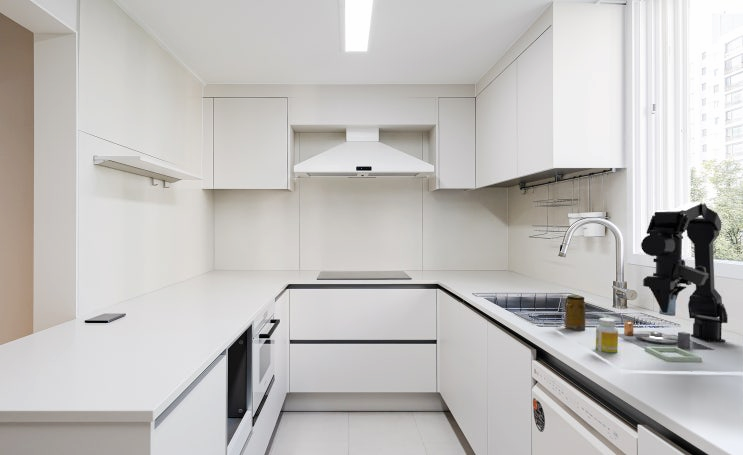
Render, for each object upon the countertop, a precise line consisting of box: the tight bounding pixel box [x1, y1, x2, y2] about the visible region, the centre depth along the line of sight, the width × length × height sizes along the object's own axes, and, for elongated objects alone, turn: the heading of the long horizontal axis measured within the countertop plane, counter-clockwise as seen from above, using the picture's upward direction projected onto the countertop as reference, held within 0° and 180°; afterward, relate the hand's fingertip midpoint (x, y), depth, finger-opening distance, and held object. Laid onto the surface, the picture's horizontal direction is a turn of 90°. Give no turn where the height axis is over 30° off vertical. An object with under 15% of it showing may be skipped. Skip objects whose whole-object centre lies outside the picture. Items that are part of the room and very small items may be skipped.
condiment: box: [564, 294, 586, 332], centre depth 139 cm, size 7×8×12 cm
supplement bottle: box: [595, 317, 619, 354], centre depth 116 cm, size 5×5×10 cm
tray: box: [644, 347, 703, 363], centre depth 112 cm, size 9×9×2 cm
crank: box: [623, 321, 678, 344], centre depth 128 cm, size 15×11×5 cm
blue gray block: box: [658, 294, 677, 317], centre depth 113 cm, size 4×4×6 cm
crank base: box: [618, 331, 715, 351], centre depth 126 cm, size 20×16×5 cm
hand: (667, 311), depth 113 cm, fingers closed on blue gray block, 4 cm apart
